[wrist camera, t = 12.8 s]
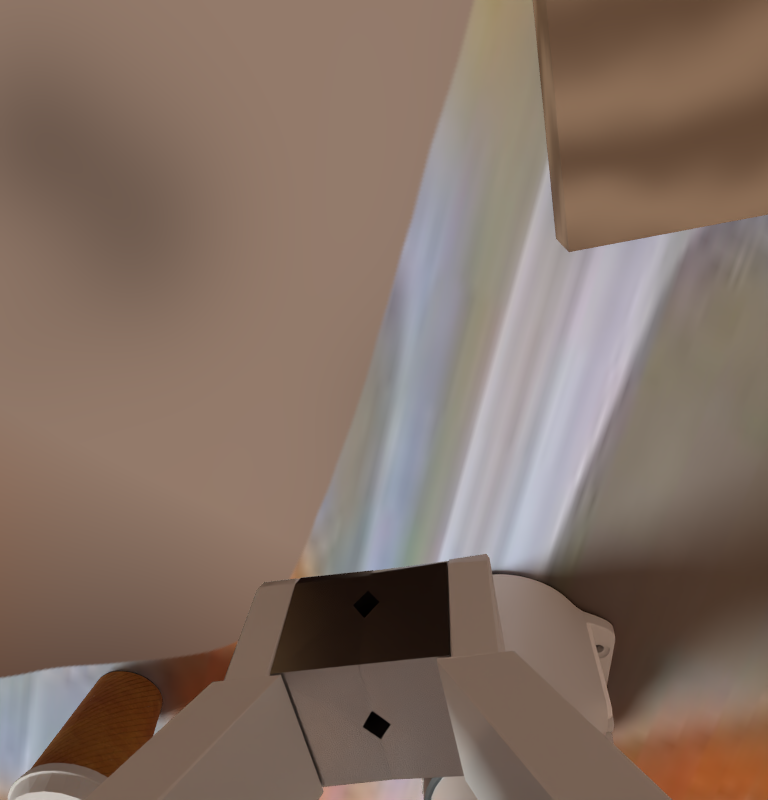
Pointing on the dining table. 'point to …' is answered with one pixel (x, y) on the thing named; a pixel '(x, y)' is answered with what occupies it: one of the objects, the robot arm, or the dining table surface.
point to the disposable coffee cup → (94, 740)
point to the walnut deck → (653, 115)
